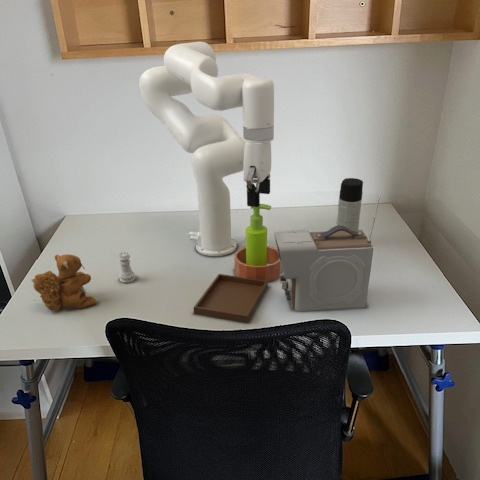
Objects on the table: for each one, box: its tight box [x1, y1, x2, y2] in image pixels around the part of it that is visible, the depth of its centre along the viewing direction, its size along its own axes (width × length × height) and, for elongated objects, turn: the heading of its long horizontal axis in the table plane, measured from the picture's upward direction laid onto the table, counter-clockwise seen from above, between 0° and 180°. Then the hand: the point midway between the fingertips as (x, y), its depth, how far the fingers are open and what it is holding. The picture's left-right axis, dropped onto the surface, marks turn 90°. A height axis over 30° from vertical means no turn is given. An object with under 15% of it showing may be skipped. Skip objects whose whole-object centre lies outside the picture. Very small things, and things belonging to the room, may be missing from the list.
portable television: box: [273, 195, 381, 312], centre depth 131 cm, size 12×24×30 cm, turn 94°
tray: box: [193, 273, 269, 324], centre depth 140 cm, size 14×18×2 cm
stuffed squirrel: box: [31, 254, 98, 312], centre depth 137 cm, size 10×14×13 cm
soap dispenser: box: [245, 203, 272, 266], centre depth 148 cm, size 6×7×20 cm
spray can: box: [336, 177, 364, 230], centre depth 162 cm, size 7×7×20 cm
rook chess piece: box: [117, 251, 136, 284], centre depth 149 cm, size 4×4×8 cm
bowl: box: [233, 245, 283, 283], centre depth 152 cm, size 13×13×5 cm
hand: (258, 199), depth 141 cm, fingers open, 9 cm apart
